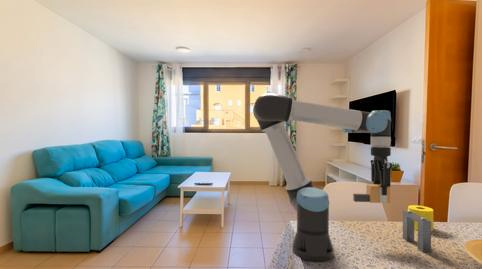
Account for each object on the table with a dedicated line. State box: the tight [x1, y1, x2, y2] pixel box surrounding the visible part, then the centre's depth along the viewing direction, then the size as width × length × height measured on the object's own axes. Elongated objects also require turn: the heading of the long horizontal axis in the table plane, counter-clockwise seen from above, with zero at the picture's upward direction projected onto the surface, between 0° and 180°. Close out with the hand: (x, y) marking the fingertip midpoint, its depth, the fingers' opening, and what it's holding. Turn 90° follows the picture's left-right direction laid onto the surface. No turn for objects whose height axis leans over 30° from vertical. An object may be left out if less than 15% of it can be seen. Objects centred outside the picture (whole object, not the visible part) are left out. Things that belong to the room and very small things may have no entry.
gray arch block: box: [402, 209, 432, 254], centre depth 103 cm, size 3×13×12 cm, turn 177°
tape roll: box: [407, 204, 434, 232], centre depth 122 cm, size 10×10×9 cm
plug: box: [352, 183, 391, 204], centre depth 109 cm, size 14×4×7 cm, turn 87°
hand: (380, 200), depth 109 cm, fingers closed on plug, 4 cm apart
